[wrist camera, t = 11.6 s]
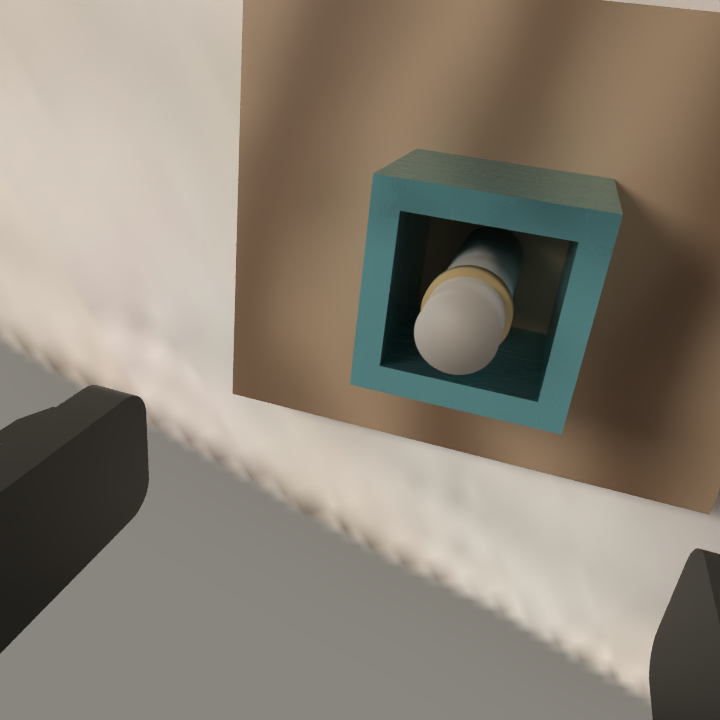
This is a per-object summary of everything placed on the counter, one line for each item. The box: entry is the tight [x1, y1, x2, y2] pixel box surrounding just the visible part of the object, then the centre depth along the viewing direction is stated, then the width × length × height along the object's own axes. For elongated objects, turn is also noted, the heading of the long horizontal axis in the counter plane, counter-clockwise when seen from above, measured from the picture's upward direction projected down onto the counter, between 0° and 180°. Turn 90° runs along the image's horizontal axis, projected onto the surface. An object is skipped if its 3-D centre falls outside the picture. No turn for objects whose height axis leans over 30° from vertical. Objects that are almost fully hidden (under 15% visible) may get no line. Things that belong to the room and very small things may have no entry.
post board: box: [233, 0, 720, 514], centre depth 20 cm, size 18×15×9 cm
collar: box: [350, 148, 623, 435], centre depth 20 cm, size 6×6×5 cm
